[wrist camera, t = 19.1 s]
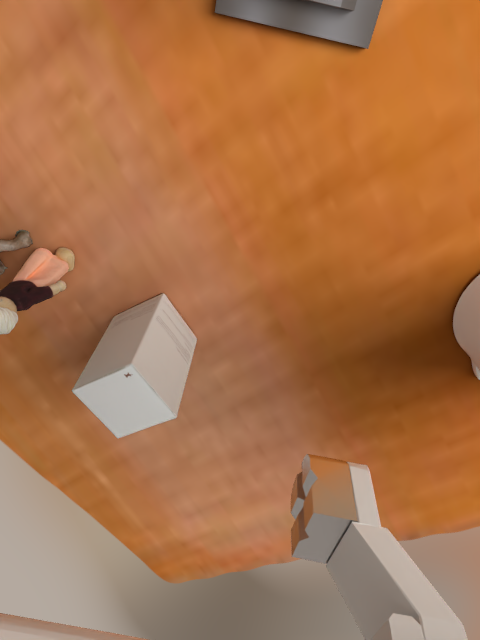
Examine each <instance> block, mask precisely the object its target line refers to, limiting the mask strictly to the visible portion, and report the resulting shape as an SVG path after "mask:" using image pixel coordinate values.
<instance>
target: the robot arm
mask: <svg viewBox="0 0 480 640" xmlns="http://www.w3.org/2000/svg"><path fill="white" fill-rule="evenodd" d="M453 330H454V334H455V337H456V340H457V342H458V343H459V345H460V346H461V348H462V349H463V350H464V351H465V352H466V353H467V354H468V355H469V357H470V358H471V361H472V367H473V371H474V374H475V375H476V377H477V378H478V379H479V380H480V274H479V275H478V276H477V277H476V278H475V279H474V280H473V281H472V282H471V283H470V284H469V286H468V287H467V288H466V289H465V291H464V292H463V294H462V295H461V297H460V299H459V301H458V303H457V305H456V308H455V312H454V317H453ZM291 514H292V515H293V517H294V518H295V522H294V524H293V527H292V529H291V545H292V557H296V558H301V559H305V560H310V561H315V562H319V563H324V564H327V565H326V567H327V569H328V571H329V573H330V575H331V577H332V578H333V580H334V582H335V584H336V586H337V588H338V590H339V592H340V594H341V596H342V597H343V599H344V601H345V603H346V605H347V607H348V609H349V611H350V612H351V614H352V616H353V618H354V620H355V622H356V623H357V626H358V627H359V629H360V631H361V633H362V635H363V637H364V638H365V640H467V636H466V633H465V630H464V627H463V624H462V623H461V621H460V620H459V619H458V618H457V616H456V615H455V614H454V613H453V611H452V610H451V609H450V608H449V606H448V605H447V604H446V603H445V601H444V600H443V599H442V598H441V596H440V595H439V594H438V593H437V591H436V590H435V588H434V587H433V586H432V585H431V583H430V582H429V581H428V580H427V578H426V577H425V576H424V574H423V573H422V572H421V571H420V569H419V568H418V567H417V566H416V564H415V563H414V562H413V561H412V559H411V558H410V557H409V555H408V554H407V553H406V552H405V550H404V549H403V548H402V546H401V545H400V544H399V543H398V541H397V540H396V539H395V538H394V536H393V535H392V534H391V532H390V531H389V530H388V529H387V528H384V527H381V524H380V519H379V514H378V509H377V504H376V499H375V495H374V490H373V485H372V480H371V475H370V470H369V468H368V467H367V465H362V464H357V463H352V462H346V461H343V460H337V459H332V458H327V457H321V456H316V455H310V454H307V455H306V456H305V457H304V459H303V462H302V472H301V473H299V474H297V476H296V478H295V481H294V484H293V489H292V494H291ZM0 640H148V639H143V638H137V637H132V636H126V635H120V634H115V633H109V632H103V631H98V630H92V629H87V628H81V627H75V626H70V625H64V624H59V623H53V622H47V621H42V620H36V619H31V618H25V617H20V616H14V615H8V614H3V613H0Z"/></svg>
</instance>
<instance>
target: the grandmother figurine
mask: <svg viewBox="0 0 480 640" xmlns="http://www.w3.org/2000/svg"><path fill="white" fill-rule="evenodd" d="M74 258H75V257H74V254H73V252H72V251H71V250H70V249H68V248H59V249H57V251H56V254H55V255H53V254H52V253H51V252H50V251H49V250H47V249H44V248H38V249H36V250H35V251H34V252H33V253H32V254H31V255H30V257H29V258H28V259H27V261H26V262H25V263H24V265H23V267H22V268H21V269H20V271H19V272H18V273H17V275H16V276H15V278H14V279H13V281H12V282H11V283H9V285H8V286H6V287H5V288H4V289H2V290H0V334H9V333H10V332H11V330H12V329H13V328H14V327H15V325H16V323H17V321H18V315H17V311H22V310H27V309H29V308H30V307H31V306H32V305H34V304H37V303H40V302H42V301H44V300H46V299H49V298H51V297H53V296H54V295H56V294H58V293H59V292H60V291H64V290H65V289H66V283H65V282H64V281H58V280H59V279H60V278H61V277H62V276H63V275H64V274H65V273H67V272H68V271H72V270H73V269H74ZM54 283H55V284H54Z"/></svg>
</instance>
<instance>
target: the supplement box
mask: <svg viewBox="0 0 480 640" xmlns="http://www.w3.org/2000/svg"><path fill="white" fill-rule="evenodd" d="M196 342H197V338H196V337H195V335H194V334H193V332H192V331H191V330H190V328H189V327H188V325H187V324H186V323H185V321H184V320H183V319H182V317H181V316H180V314H179V313H178V312H177V310H176V309H175V308H174V306H173V305H172V303H171V302H170V301H169V299H168V298H167V297H166V295H165V294H164V293H162V294H160V295H158V296H156V297H154V298H152V299H150V300H148V301H145V302H143V303H141V304H139V305H137V306H135V307H133V308H131V309H128V310H126V311H124V312H122V313H120V314H118V315H116V316H114V317H113V319H112V321H111V323H110V324H109V326H108V328H107V330H106V331H105V333H104V335H103V337H102V338H101V340H100V342H99V344H98V345H97V347H96V349H95V351H94V352H93V354H92V356H91V358H90V359H89V361H88V363H87V365H86V366H85V368H84V370H83V372H82V373H81V375H80V377H79V379H78V381H77V382H76V384H75V386H74V388H73V389H72V392H73V393H74V394H75V395H76V396H77V397H78V398H79V399H80V400H81V401H82V402H83V403H84V404H85V405H86V406H87V407H88V408H89V409H90V410H91V411H92V412H93V413H94V414H95V415H96V416H97V418H98V419H99V420H100V421H101V422H102V423H103V424H104V425H105V426H106V427H107V428H108V429H109V430H110V431H111V432H112V433H113V434H114V435H115V436H116V437H117V438H121V437H124V436H126V435H129V434H132V433H135V432H138V431H140V430H143V429H146V428H149V427H151V426H154V425H157V424H160V423H163V422H166V421H169V420H172V419H175V418H177V414H178V410H179V406H180V403H181V399H182V395H183V391H184V387H185V384H186V380H187V376H188V372H189V369H190V365H191V361H192V357H193V353H194V350H195V346H196Z"/></svg>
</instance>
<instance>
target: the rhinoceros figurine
mask: <svg viewBox="0 0 480 640" xmlns="http://www.w3.org/2000/svg"><path fill="white" fill-rule="evenodd" d="M15 236H16V238H14V239H13V240H1V239H0V252H1V251H14V250H17V249H20V248H26V247H29V245H30V243H31V244H32V239H31V238H30V235H29V232H28V231H26V230H19V231H17V232H16V235H15ZM4 269H7V267H5V266H4V264H3V263H2V262H1V261H0V274H3V273H4V271H5V270H4Z"/></svg>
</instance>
